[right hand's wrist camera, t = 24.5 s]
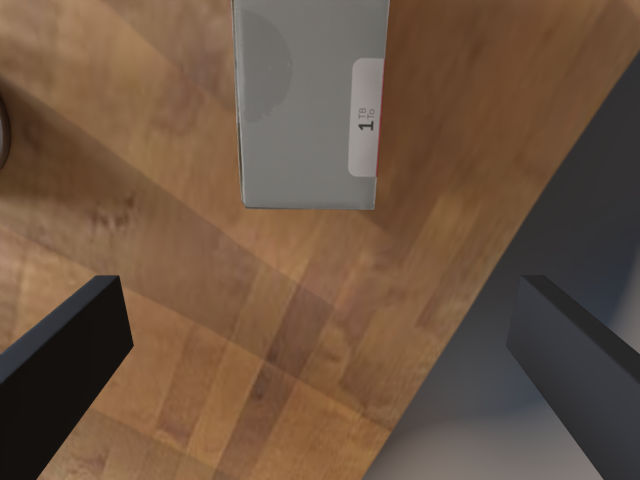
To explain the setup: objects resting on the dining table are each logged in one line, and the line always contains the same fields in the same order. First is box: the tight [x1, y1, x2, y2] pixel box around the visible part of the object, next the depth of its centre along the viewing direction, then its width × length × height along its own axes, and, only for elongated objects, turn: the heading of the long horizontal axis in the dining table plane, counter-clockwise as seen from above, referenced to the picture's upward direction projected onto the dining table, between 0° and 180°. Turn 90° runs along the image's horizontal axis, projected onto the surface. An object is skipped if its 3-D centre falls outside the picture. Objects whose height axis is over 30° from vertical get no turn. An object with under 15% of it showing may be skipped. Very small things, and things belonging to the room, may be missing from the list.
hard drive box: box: [231, 0, 390, 210], centre depth 28 cm, size 16×8×20 cm, turn 179°
